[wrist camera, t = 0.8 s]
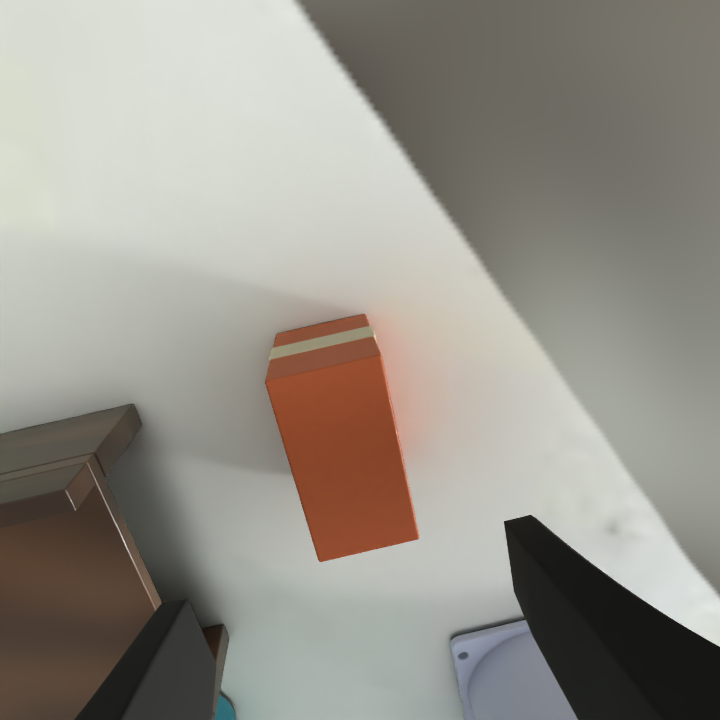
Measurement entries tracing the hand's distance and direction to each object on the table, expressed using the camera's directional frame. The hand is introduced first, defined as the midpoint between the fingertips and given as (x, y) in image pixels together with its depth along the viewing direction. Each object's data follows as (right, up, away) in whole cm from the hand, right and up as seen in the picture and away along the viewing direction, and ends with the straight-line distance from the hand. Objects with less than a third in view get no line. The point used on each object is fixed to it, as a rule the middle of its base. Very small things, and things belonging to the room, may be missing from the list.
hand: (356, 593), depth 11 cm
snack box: (-1, +3, +10) cm, 10 cm away
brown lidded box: (-12, -3, +11) cm, 17 cm away
